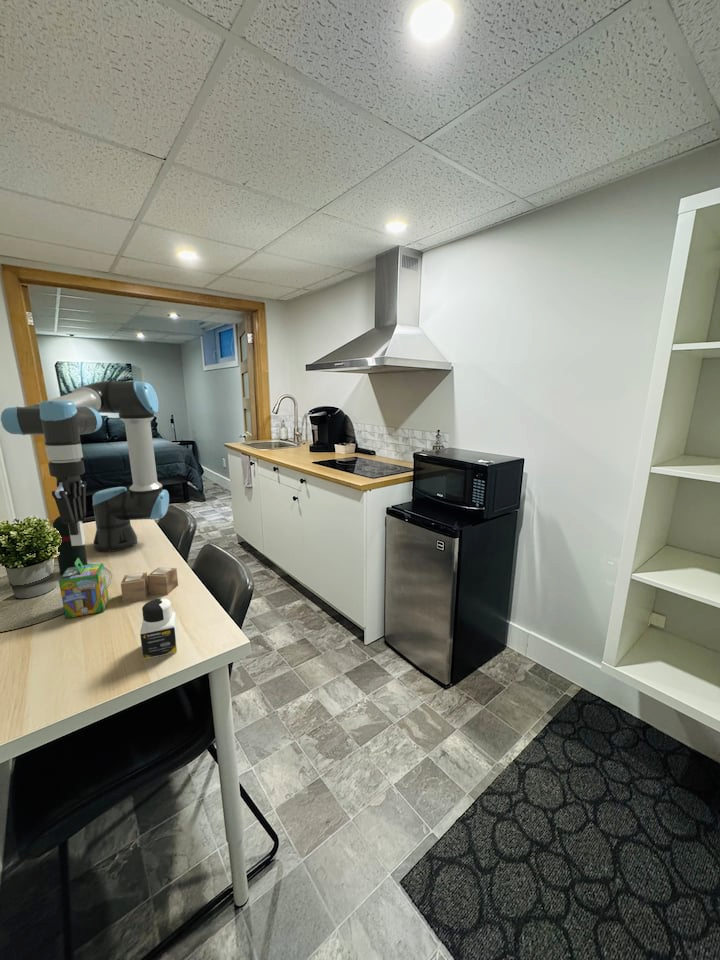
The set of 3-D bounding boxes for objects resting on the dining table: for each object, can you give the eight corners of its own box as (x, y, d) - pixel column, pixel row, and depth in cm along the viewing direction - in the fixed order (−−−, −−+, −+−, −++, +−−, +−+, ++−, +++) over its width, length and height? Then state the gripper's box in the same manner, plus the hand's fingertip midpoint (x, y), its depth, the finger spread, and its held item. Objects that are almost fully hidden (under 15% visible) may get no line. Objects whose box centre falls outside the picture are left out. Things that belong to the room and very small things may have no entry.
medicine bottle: (143, 660, 90) (137, 613, 87) (146, 642, 96) (140, 598, 94) (177, 652, 92) (172, 607, 90) (177, 636, 99) (173, 593, 96)
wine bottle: (89, 563, 141) (77, 482, 135) (87, 574, 132) (75, 488, 126) (61, 568, 137) (48, 485, 130) (58, 579, 128) (44, 491, 122)
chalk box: (103, 612, 109) (96, 563, 106) (64, 619, 106) (55, 569, 103) (109, 597, 118) (103, 551, 114) (73, 603, 114) (65, 556, 111)
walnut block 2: (160, 584, 126) (158, 566, 124) (178, 585, 125) (176, 567, 124) (149, 593, 120) (146, 574, 119) (167, 594, 119) (165, 575, 118)
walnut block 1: (127, 593, 120) (124, 574, 119) (148, 590, 122) (146, 571, 121) (123, 602, 115) (120, 583, 113) (145, 599, 117) (143, 579, 115)
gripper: (63, 456, 108) (75, 537, 113) (34, 464, 96) (49, 554, 101) (93, 456, 110) (104, 535, 114) (68, 464, 97) (81, 552, 102)
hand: (78, 544), depth 108 cm, fingers closed
